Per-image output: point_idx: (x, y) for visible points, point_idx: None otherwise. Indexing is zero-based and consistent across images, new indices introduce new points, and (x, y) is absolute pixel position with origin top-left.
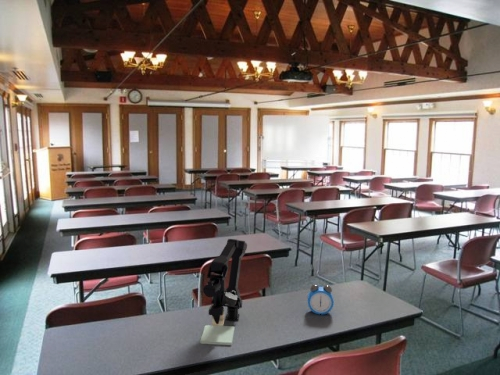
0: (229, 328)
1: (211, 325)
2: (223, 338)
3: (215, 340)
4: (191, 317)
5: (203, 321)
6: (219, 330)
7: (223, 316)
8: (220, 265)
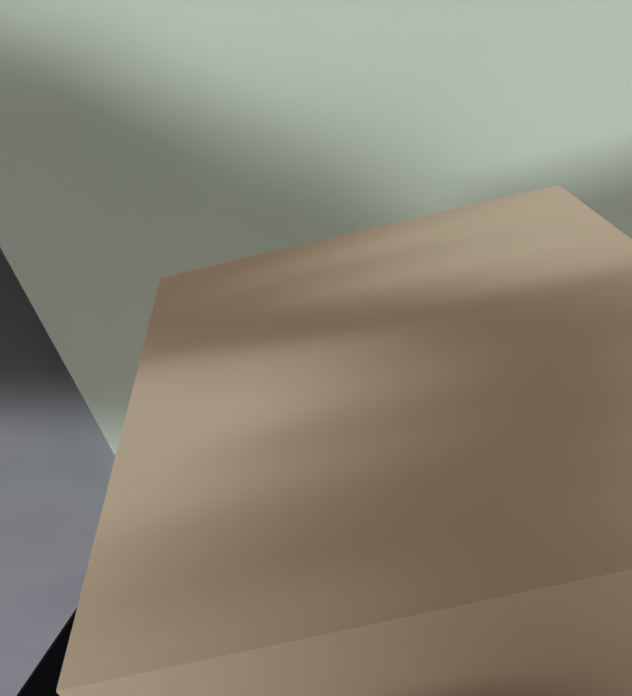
0: (19, 65)
1: (109, 444)
2: (520, 53)
3: (611, 196)
4: (2, 683)
5: (3, 561)
6: (219, 258)
7: (629, 407)
8: None
